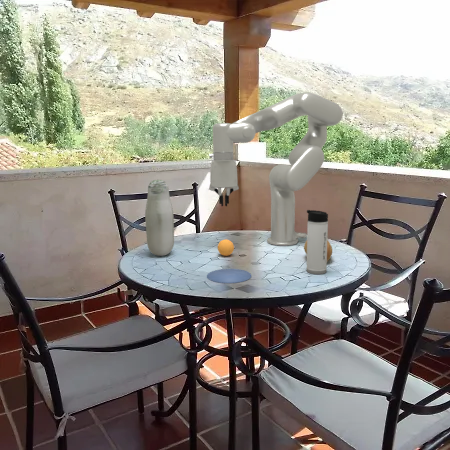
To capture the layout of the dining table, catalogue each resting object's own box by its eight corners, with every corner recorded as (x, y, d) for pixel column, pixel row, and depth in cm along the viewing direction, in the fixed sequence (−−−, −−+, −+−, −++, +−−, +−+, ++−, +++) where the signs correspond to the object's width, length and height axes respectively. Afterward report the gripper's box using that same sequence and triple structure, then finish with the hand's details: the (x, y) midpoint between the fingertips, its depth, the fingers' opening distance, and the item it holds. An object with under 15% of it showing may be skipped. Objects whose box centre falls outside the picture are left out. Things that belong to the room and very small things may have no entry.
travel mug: (304, 268, 144) (305, 208, 140) (324, 268, 144) (326, 208, 140) (306, 274, 138) (308, 212, 134) (328, 274, 138) (330, 211, 134)
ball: (233, 253, 165) (233, 237, 164) (234, 257, 159) (234, 241, 158) (217, 253, 165) (217, 238, 163) (217, 257, 159) (217, 241, 158)
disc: (249, 268, 145) (249, 268, 145) (253, 282, 132) (253, 281, 132) (206, 269, 145) (206, 269, 145) (206, 283, 131) (206, 283, 131)
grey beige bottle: (144, 253, 167) (140, 179, 161) (171, 250, 170) (168, 178, 165) (150, 259, 158) (146, 181, 152) (178, 256, 161) (175, 180, 156)
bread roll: (307, 266, 148) (307, 243, 146) (301, 254, 163) (301, 233, 161) (335, 265, 148) (336, 242, 146) (327, 254, 162) (327, 233, 161)
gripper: (202, 157, 160) (204, 207, 164) (244, 157, 161) (245, 206, 164) (202, 156, 167) (204, 204, 171) (243, 156, 168) (243, 203, 172)
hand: (224, 205), depth 168 cm, fingers closed
